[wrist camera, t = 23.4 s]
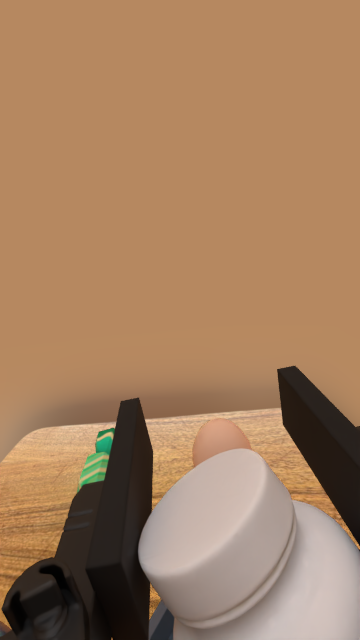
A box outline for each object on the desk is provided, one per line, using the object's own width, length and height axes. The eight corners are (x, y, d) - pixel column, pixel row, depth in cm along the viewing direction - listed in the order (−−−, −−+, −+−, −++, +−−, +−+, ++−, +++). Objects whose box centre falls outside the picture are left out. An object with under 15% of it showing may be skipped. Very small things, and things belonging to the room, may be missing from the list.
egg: (230, 525, 27) (216, 454, 25) (187, 489, 31) (173, 426, 29) (269, 483, 30) (261, 418, 28) (226, 456, 35) (215, 397, 32)
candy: (113, 533, 27) (77, 508, 26) (88, 554, 28) (51, 530, 27) (131, 441, 39) (106, 422, 38) (113, 458, 39) (88, 439, 38)
